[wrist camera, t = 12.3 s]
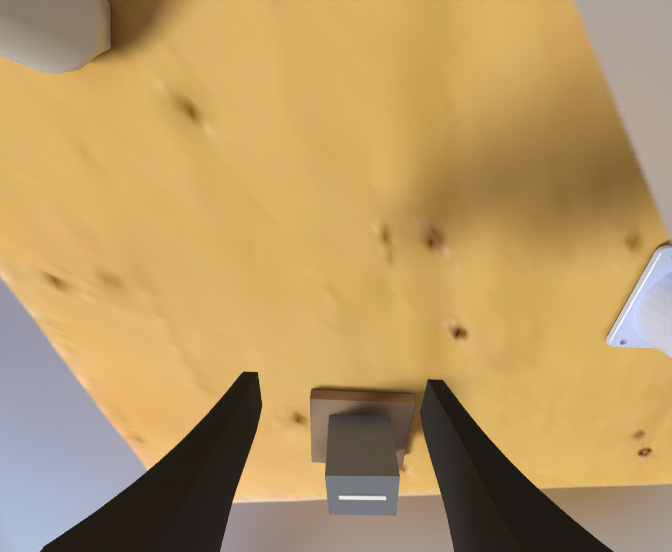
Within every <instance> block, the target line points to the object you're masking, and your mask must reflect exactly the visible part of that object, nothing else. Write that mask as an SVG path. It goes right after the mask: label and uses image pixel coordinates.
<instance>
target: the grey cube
mask: <svg viewBox="0 0 672 552" xmlns="http://www.w3.org/2000/svg"><path fill="white" fill-rule="evenodd" d="M325 479H326V489H327V498H328V507H329V514H342V515H345V514H346V515H396V511H397V500H398V490H399V479H400V475H399V468H398V462H397V455H396V449H395V443H394V436H393V430H392V423H391V417H390V415H329V421H328V437H327V453H326V469H325Z"/></svg>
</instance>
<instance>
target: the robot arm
mask: <svg viewBox="0 0 672 552" xmlns="http://www.w3.org/2000/svg"><path fill="white" fill-rule="evenodd" d="M606 342H607V343H608V344H609V345H610V346H613V347H637V348H658V349H659V350H660V351H662V352H663V353H665V354H666V355H668V356H669V357H671V358H672V245H665V246H662V247H659V248H658V249H657V250H656V251H655V253H654V254H653V256H652V258H651V260H650V262H649V263H648V265H647V267H646V269H645V270H644V272H643V274H642V276H641V278H640V279H639V281H638V283H637V285H636V287H635V288H634V290H633V292H632V294H631V295H630V297H629V299H628V301H627V303H626V304H625V306H624V308H623V310H622V311H621V313H620V315H619V317H618V319H617V320H616V322H615V324H614V326H613V327H612V329H611V331H610V333H609V335H608V336H607V338H606ZM261 409H262V400H261V393H260V385H259V378H258V372H243V373H241V375H240V376H239V377H238V378H237V380H236V381H235V382H234V383H233V385H232V386H231V387H230V388H229V389H228V391H227V392H226V393H225V394H224V395H223V397H222V398H221V399H220V400H219V401H218V402H217V404H216V405H215V406H214V407H213V408H212V409H211V410H210V411H209V413H208V414H207V415H206V416H205V417H204V418H203V419H202V420H201V421H200V422H199V423H198V424H197V425H196V426H195V427H194V428H193V430H192V431H191V432H190V433H189V434H188V435H187V436H186V437H185V438H184V439H183V440H182V441H181V442H180V443H178V444H177V445H176V446H175V447H174V448H173V449H172V450H171V451H170V452H169V453H168V454H167V455H166V456H164V457H163V458H162V459H161V460H160V461H159V462H158V463H156V464H155V465H154V466H153V467H152V468H151V469H149V470H148V471H147V472H146V473H145V474H144V475H142V476H141V477H140V478H139V479H137V480H136V481H135V482H134V483H133V484H131V485H130V486H129V487H127V488H126V489H125V490H123V491H122V492H121V493H119V494H118V495H117V496H116V497H114V498H113V499H112V500H110V501H109V502H108V503H106V504H105V505H104V506H102V507H101V508H100V509H98V510H97V511H96V512H94V513H93V514H91V515H90V516H89V517H87V518H86V519H84V520H83V521H81V522H80V523H78V524H77V525H76V526H74V527H72V528H71V529H70V530H68V531H66V532H65V533H64V534H62V535H61V536H59V537H58V538H56V539H55V540H53V541H52V542H50V543H49V544H47V545H45V546H44V547H43V549H42V550H41V551H40V552H220V549H221V545H222V541H223V537H224V533H225V529H226V525H227V521H228V517H229V513H230V509H231V505H232V502H233V498H234V495H235V492H236V489H237V486H238V483H239V480H240V477H241V474H242V471H243V469H244V466H245V463H246V460H247V457H248V454H249V451H250V448H251V445H252V443H253V440H254V437H255V434H256V431H257V427H258V422H259V418H260V414H261ZM420 414H421V420H422V426H423V431H424V436H425V440H426V444H427V447H428V451H429V454H430V458H431V461H432V465H433V468H434V471H435V475H436V478H437V481H438V485H439V488H440V492H441V495H442V498H443V502H444V505H445V510H446V514H447V518H448V523H449V528H450V533H451V537H452V542H453V547H454V552H613V551H612V550H611V549H609V548H608V547H607V546H605V545H604V544H603V543H602V542H600V541H599V540H598V539H596V538H595V537H594V536H593V535H592V534H590V533H589V532H588V531H587V530H585V529H584V528H583V527H581V526H580V525H579V524H578V523H577V522H575V521H574V520H573V519H572V518H571V517H570V516H568V515H567V514H566V513H565V512H564V511H563V510H562V509H560V508H559V507H558V506H557V505H556V504H555V503H554V502H552V501H551V500H550V499H549V498H548V497H547V496H546V495H545V494H543V493H542V492H541V491H540V490H539V489H538V488H537V487H536V486H535V485H534V484H533V483H532V482H530V481H529V480H528V479H527V478H526V477H525V476H524V475H523V474H522V473H521V472H520V471H519V470H518V469H517V468H516V467H515V466H514V465H513V464H512V463H511V462H510V461H509V460H508V458H507V457H506V456H505V455H504V454H503V453H502V452H501V451H500V450H499V449H498V448H497V447H496V445H495V444H494V443H493V442H492V441H491V440H490V439H489V438H488V436H487V435H486V434H485V433H484V432H483V431H482V429H481V428H480V427H479V426H478V425H477V423H476V422H475V421H474V420H473V418H472V417H471V416H470V415H469V414H468V412H467V411H466V410H465V409H464V407H463V406H462V405H461V403H460V402H459V401H458V399H457V398H456V397H455V395H454V394H453V393H452V392H451V390H450V389H449V387H448V386H447V385H446V383H445V382H444V381H443V380H432V379H428V381H427V385H426V390H425V394H424V398H423V403H422V407H421V412H420Z"/></svg>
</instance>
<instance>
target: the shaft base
mask: <svg viewBox="0 0 672 552" xmlns="http://www.w3.org/2000/svg"><path fill="white" fill-rule="evenodd" d="M415 404H416V403H415V399H414V396H413V394H405V393H381V392H358V391H334V390H311V396H310V417H311V455H312V462H320V463H326V453H327V437H328V421H329V415H390V417H391V423H392V430H393V436H394V443H395V449H396V455H397V462H398V466H402V465H403V460H404V455H405V451H406V446H407V441H408V436H409V432H410V427H411V422H412V418H413V413H414V408H415Z"/></svg>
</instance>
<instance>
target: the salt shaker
mask: <svg viewBox="0 0 672 552" xmlns="http://www.w3.org/2000/svg"><path fill="white" fill-rule="evenodd" d="M109 49H111V9H110V3H109V2H108V0H0V56H1V57H3V58H6V59H8V60H11V61H13V62H16V63H18V64H21V65H24V66H26V67H29V68H32V69H34V70H37V71H40V72H42V73H45V74H59V73H64V72H69V71H75V70H80V69H81V68H83V67H84V66H85V65H86V64H88V63H89V62H90V61H91V60H93V59H94V58H95V57H96V56H98V55H100V54H101V53H103V52H105V51H107V50H109Z"/></svg>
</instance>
